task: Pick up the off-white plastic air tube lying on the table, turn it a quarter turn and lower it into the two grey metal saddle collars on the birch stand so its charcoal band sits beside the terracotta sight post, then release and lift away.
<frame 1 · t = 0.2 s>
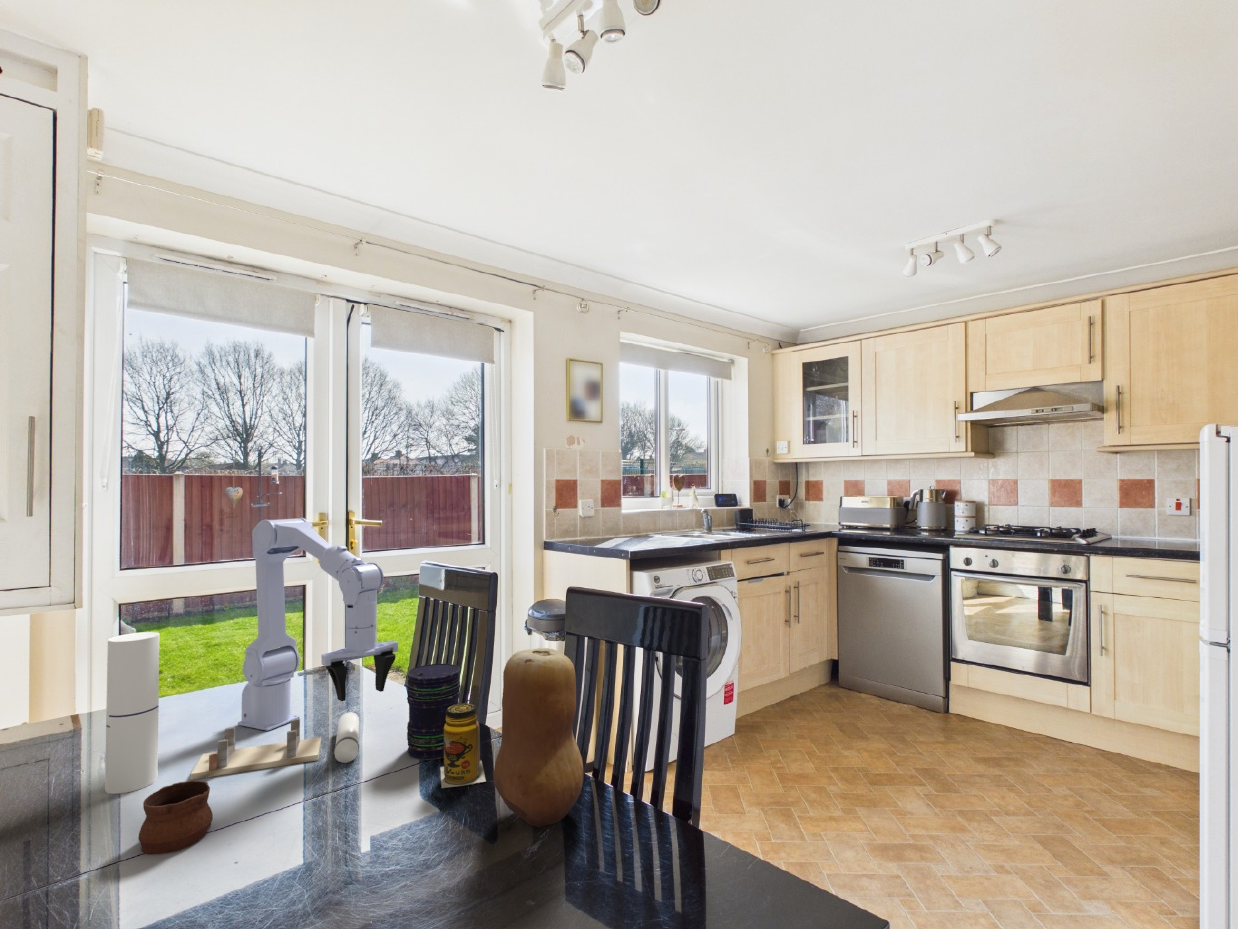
hand: (361, 695, 125), 9 cm above the table, tool pointing down, fingers open, 7 cm apart
butternut squash: (538, 819, 96), on the table
air tube: (347, 736, 123), point 2 cm above the table
condiment: (462, 776, 110), on the table
cylindrical container: (131, 784, 108), on the table
ceramic pot: (176, 842, 91), on the table
storage jar: (433, 750, 121), on the table
tube stand: (260, 759, 117), on the table
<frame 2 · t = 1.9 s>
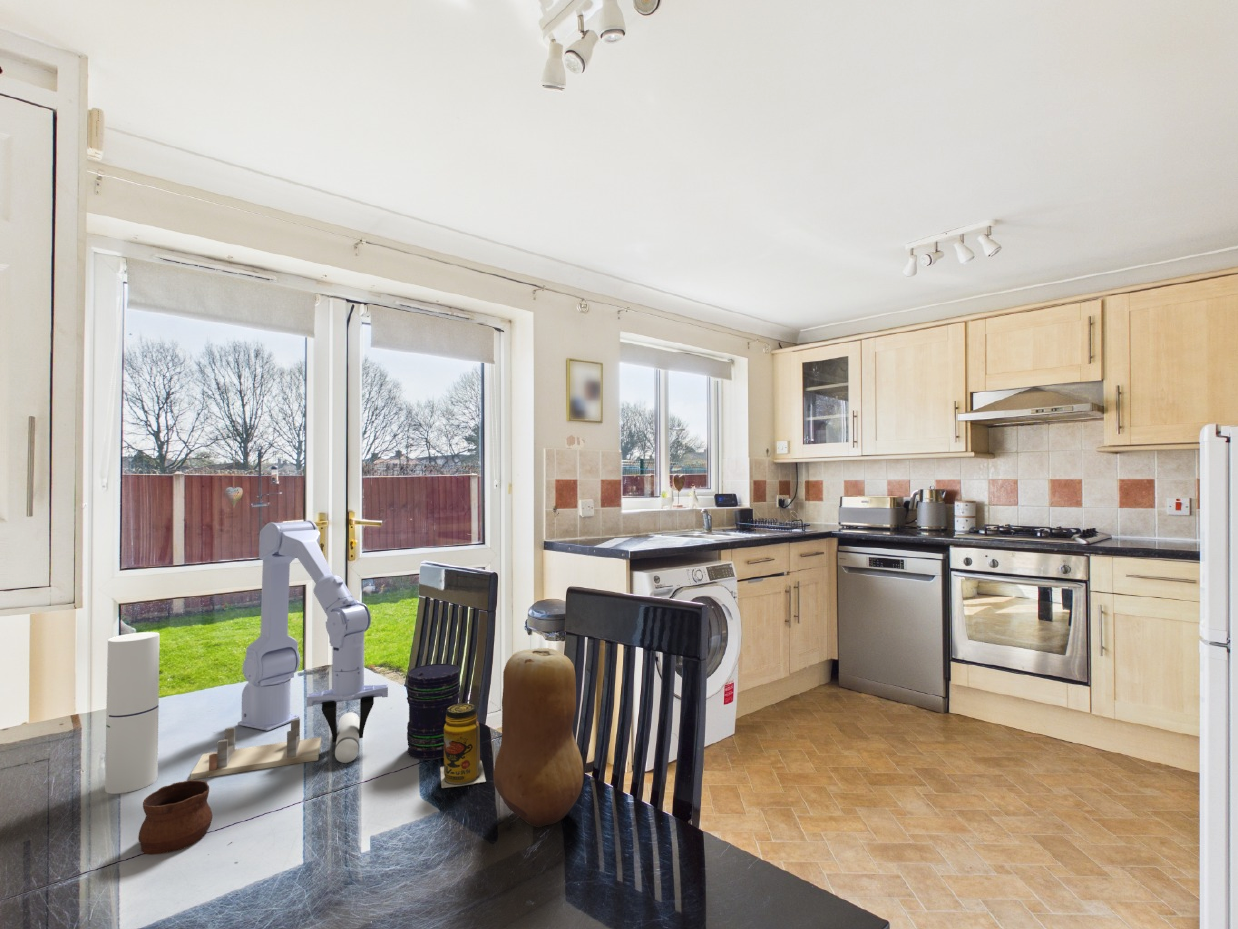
hand: (348, 738, 123), 2 cm above the table, tool pointing down, fingers closed on air tube, 4 cm apart
air tube: (348, 736, 123), point 2 cm above the table, touching gripper
everything else where it was.
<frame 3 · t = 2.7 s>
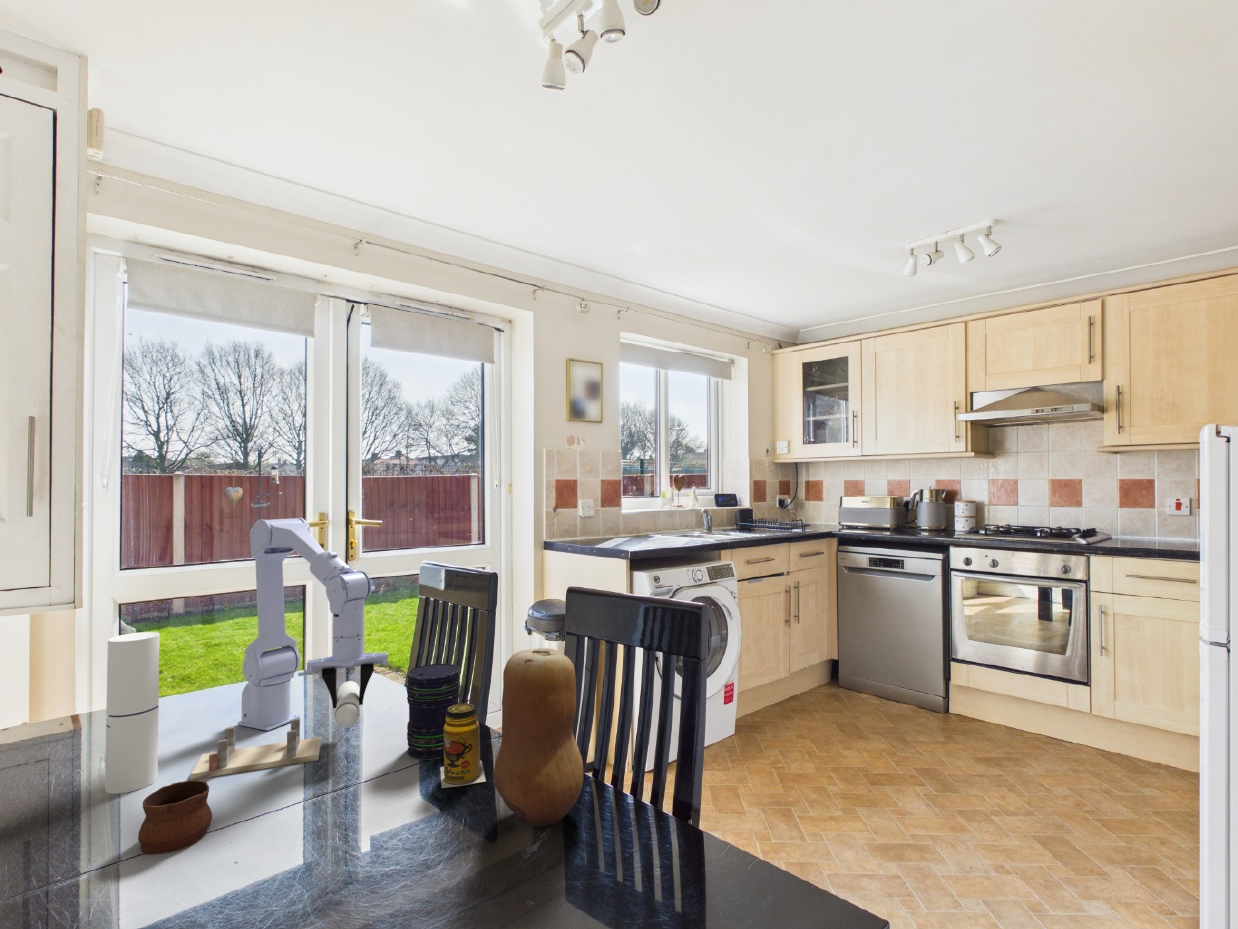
hand: (348, 705, 123), 8 cm above the table, tool pointing down, fingers closed on air tube, 4 cm apart
air tube: (348, 702, 123), point 8 cm above the table, touching gripper
everything else where it was.
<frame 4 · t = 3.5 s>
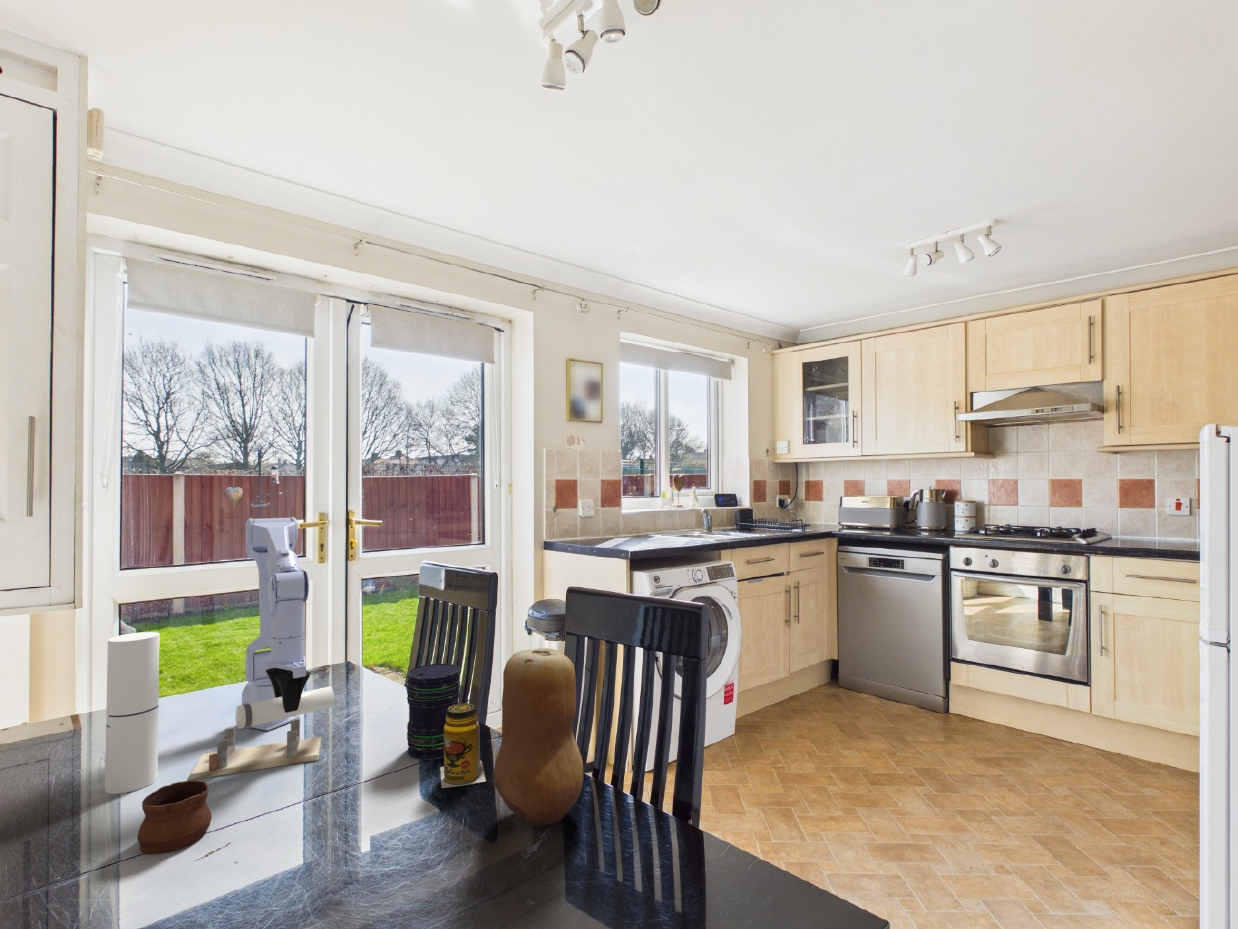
hand: (287, 708, 119), 9 cm above the table, tool pointing down, fingers closed on air tube, 4 cm apart
air tube: (286, 706, 119), point 9 cm above the table, touching gripper
everything else where it was.
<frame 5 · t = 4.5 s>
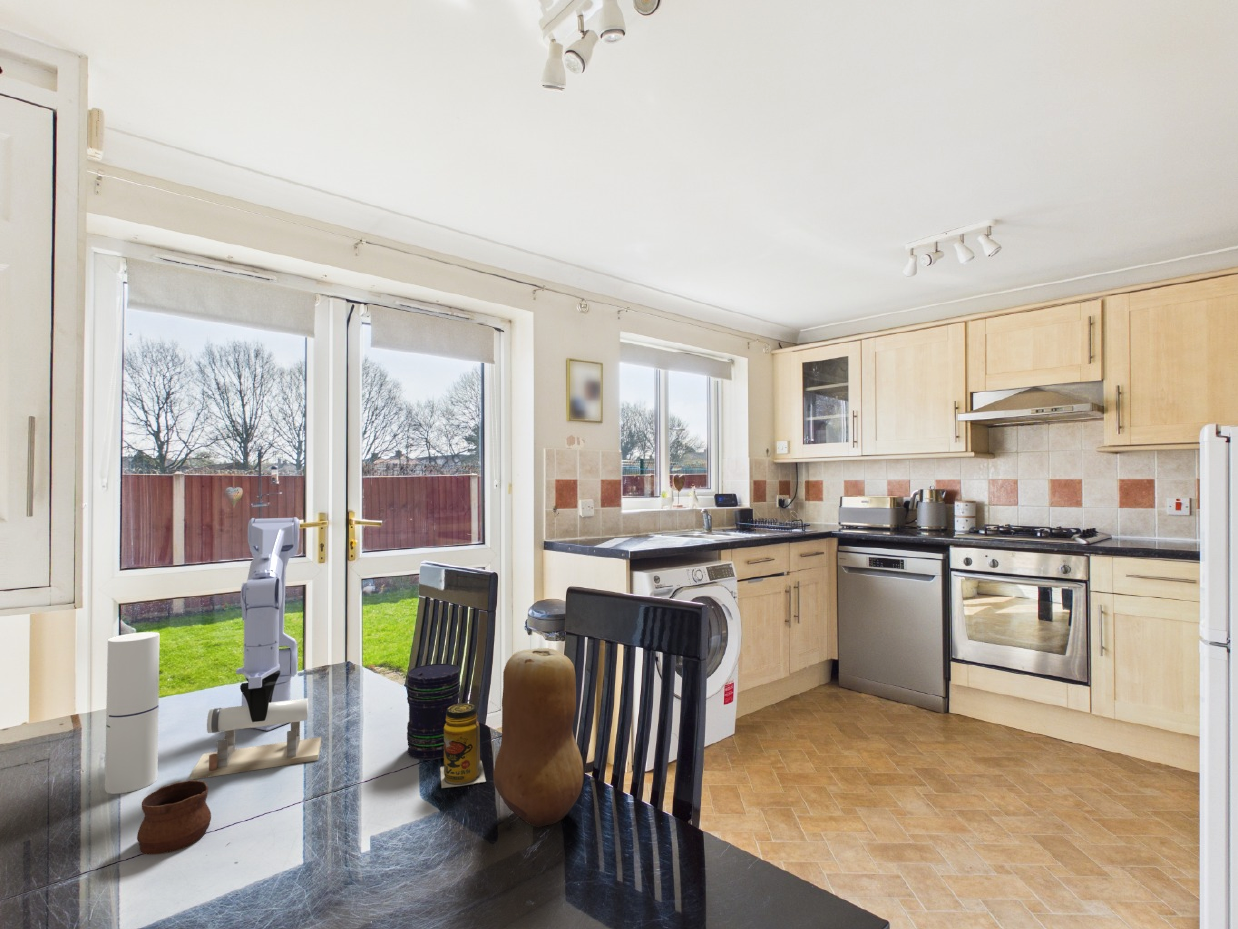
hand: (260, 716, 118), 8 cm above the table, tool pointing down, fingers closed on air tube, 4 cm apart
air tube: (259, 715, 118), point 8 cm above the table, touching gripper
everything else where it was.
when the fingers open (5 cm above the table, at t = 5.3 s): air tube drops 1 cm, resting on tube stand.
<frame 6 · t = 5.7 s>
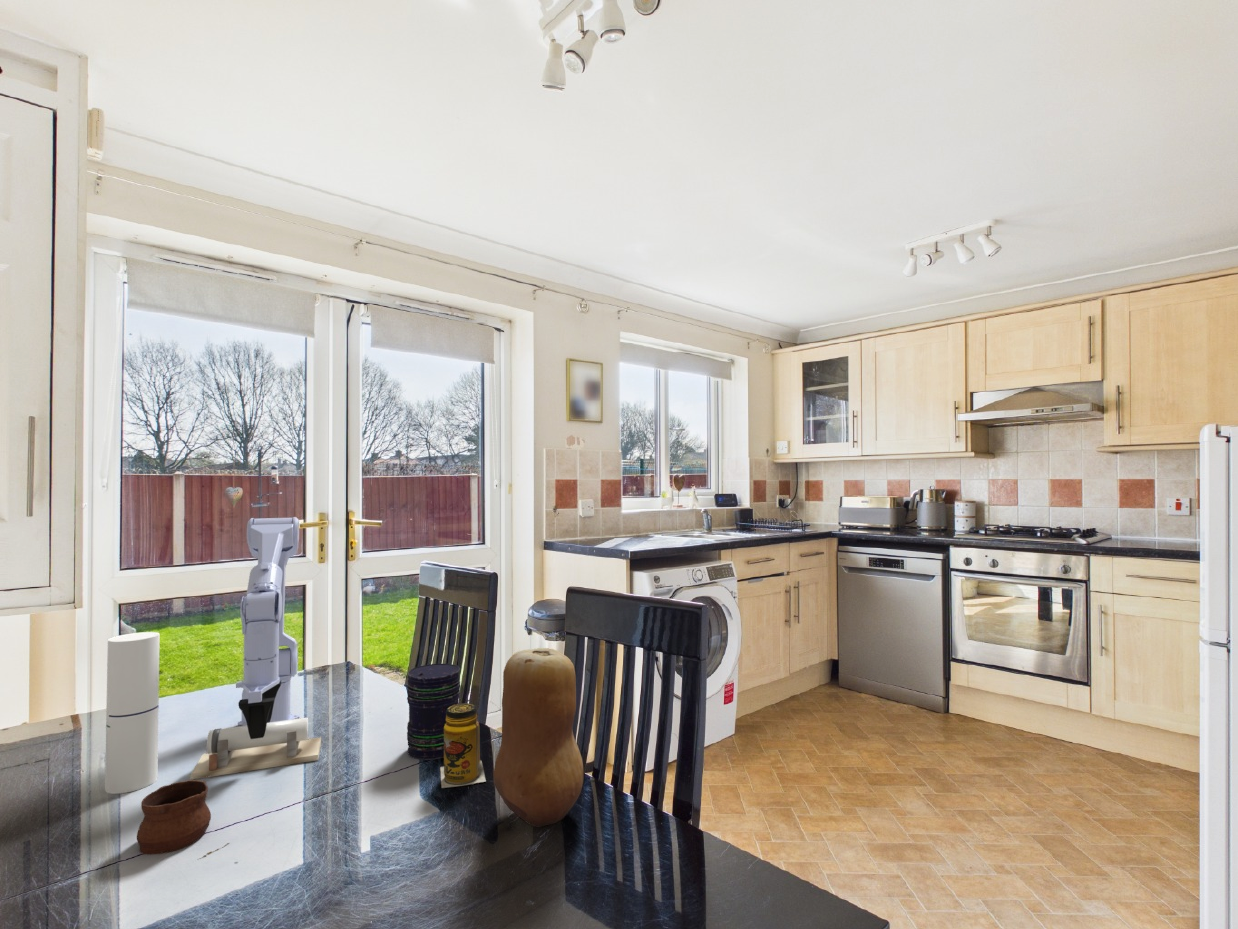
hand: (260, 730, 118), 5 cm above the table, tool pointing down, fingers open, 7 cm apart
air tube: (259, 735, 118), point 4 cm above the table, touching tube stand
everything else where it was.
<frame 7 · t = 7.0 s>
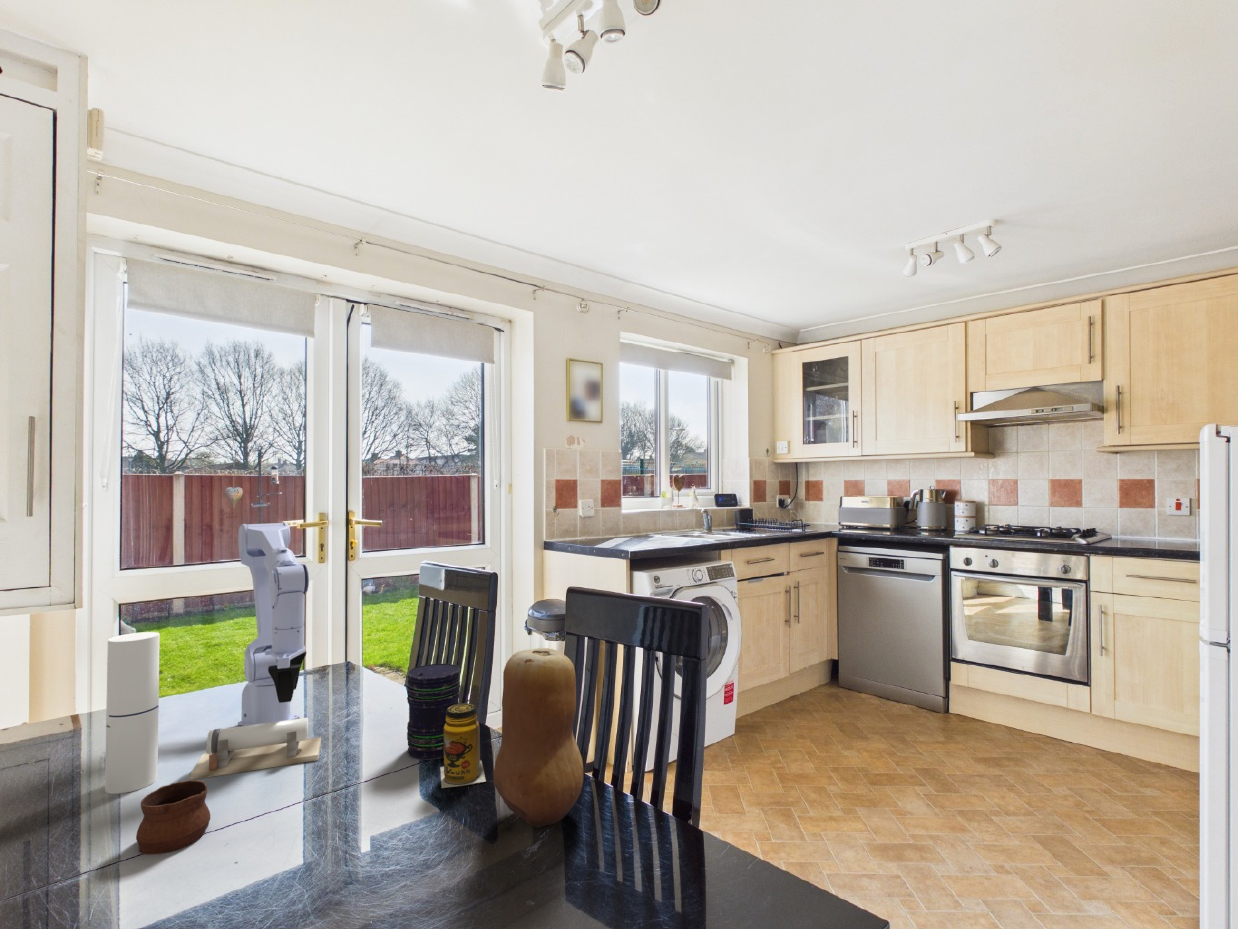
hand: (287, 695, 125), 9 cm above the table, tool pointing down, fingers open, 7 cm apart
nothing on the table moved.
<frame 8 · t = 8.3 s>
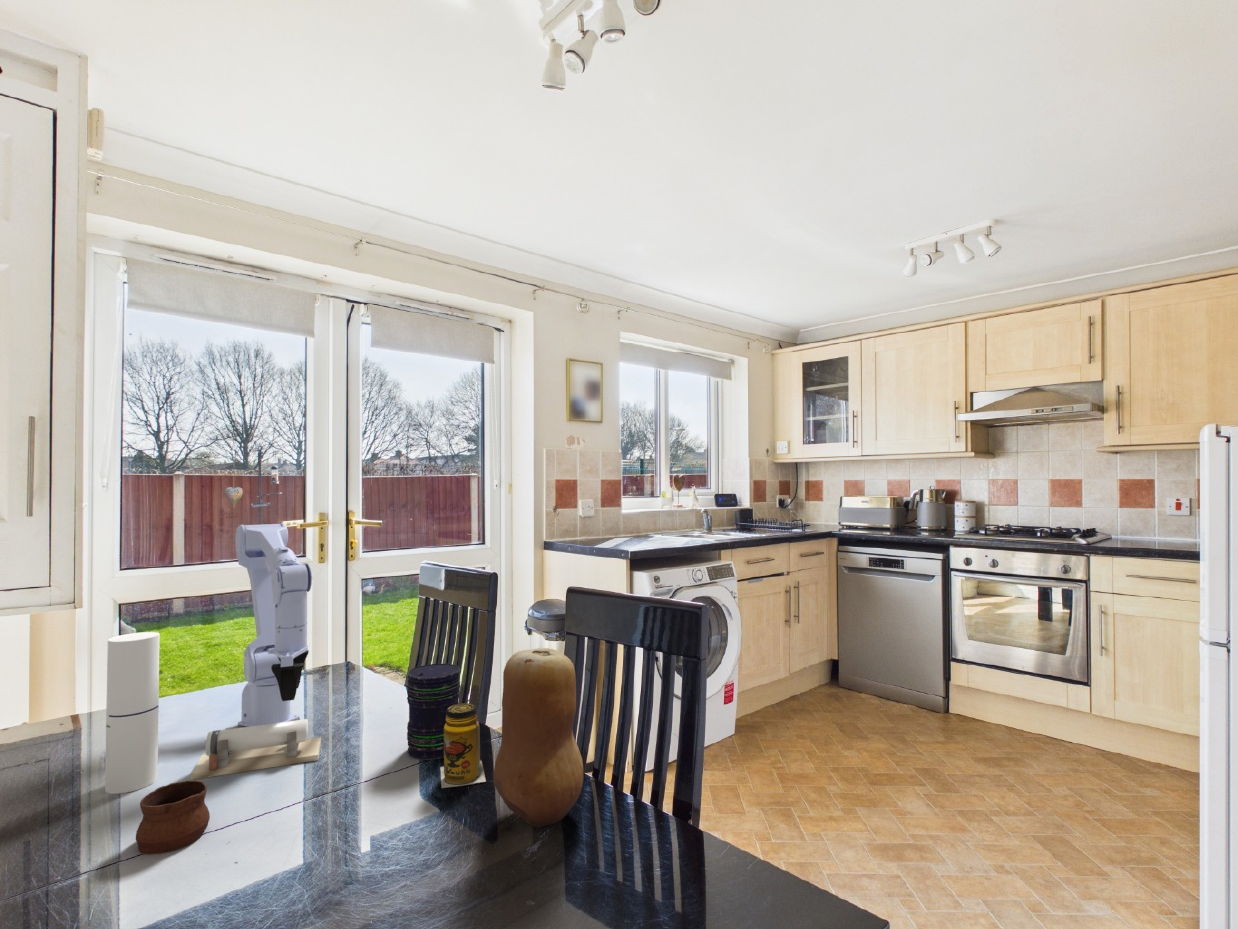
hand: (290, 694, 126), 9 cm above the table, tool pointing down, fingers open, 7 cm apart
air tube: (258, 736, 117), point 4 cm above the table, tilted 24°, touching tube stand
everything else where it was.
at the end: air tube 0.8 cm from the tube stand (horizontally); air tube 0.8 cm off-centre on the tube stand, point 4.5 cm above the tube stand's base; the gripper is holding nothing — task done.
